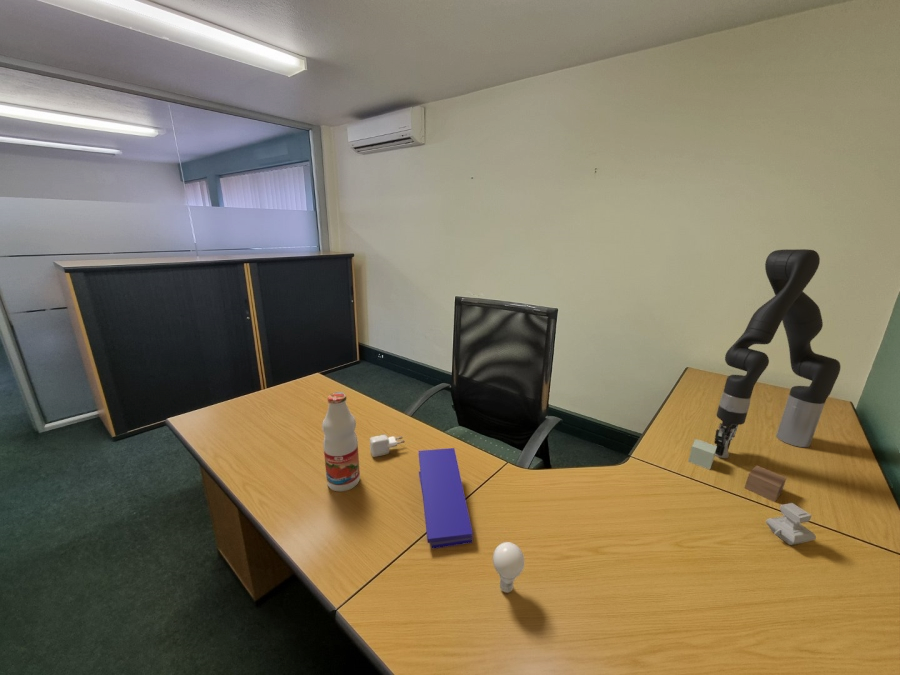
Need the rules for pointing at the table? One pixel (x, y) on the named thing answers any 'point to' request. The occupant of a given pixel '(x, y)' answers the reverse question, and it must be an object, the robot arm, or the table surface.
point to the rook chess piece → (725, 451)
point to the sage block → (702, 454)
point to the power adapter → (382, 444)
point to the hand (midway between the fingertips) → (721, 451)
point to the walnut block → (765, 483)
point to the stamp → (791, 525)
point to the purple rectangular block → (443, 499)
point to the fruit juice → (340, 445)
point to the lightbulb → (508, 564)
